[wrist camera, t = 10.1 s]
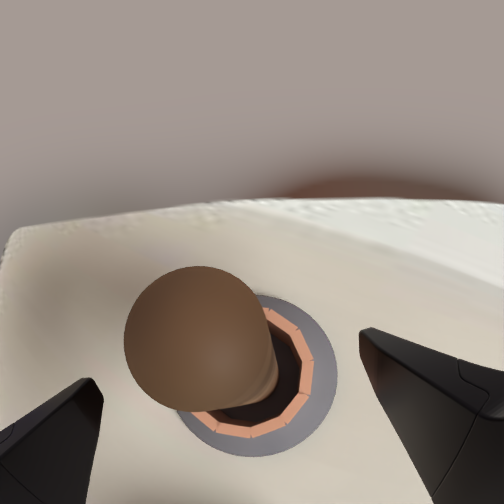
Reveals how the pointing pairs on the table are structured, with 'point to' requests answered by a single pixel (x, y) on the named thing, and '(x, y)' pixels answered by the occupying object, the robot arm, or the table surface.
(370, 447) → the table surface
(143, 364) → the walnut rail post
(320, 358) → the ring
